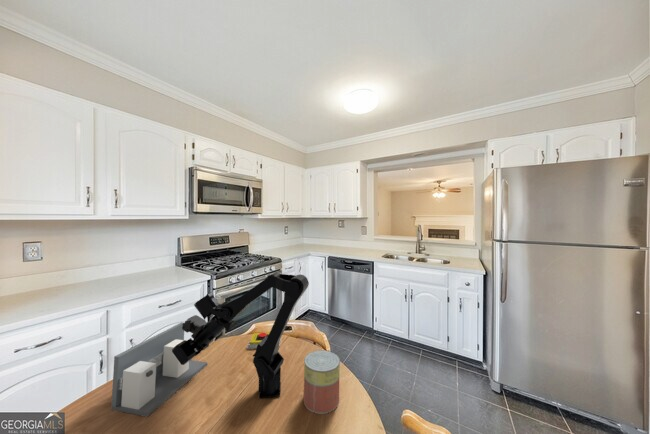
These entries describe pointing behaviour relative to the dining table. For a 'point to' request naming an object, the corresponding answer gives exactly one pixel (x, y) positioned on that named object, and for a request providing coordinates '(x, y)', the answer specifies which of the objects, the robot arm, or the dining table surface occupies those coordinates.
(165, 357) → the breaker module
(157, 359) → the steel rail
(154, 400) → the mounting board
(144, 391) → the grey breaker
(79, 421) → the dining table surface
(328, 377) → the canned food
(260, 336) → the emergency button
